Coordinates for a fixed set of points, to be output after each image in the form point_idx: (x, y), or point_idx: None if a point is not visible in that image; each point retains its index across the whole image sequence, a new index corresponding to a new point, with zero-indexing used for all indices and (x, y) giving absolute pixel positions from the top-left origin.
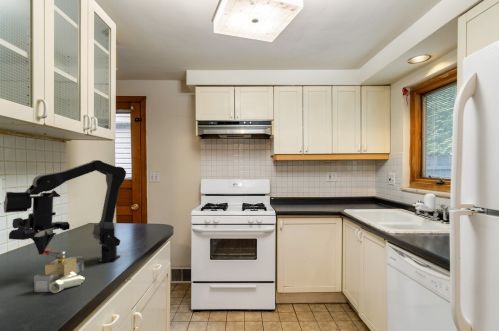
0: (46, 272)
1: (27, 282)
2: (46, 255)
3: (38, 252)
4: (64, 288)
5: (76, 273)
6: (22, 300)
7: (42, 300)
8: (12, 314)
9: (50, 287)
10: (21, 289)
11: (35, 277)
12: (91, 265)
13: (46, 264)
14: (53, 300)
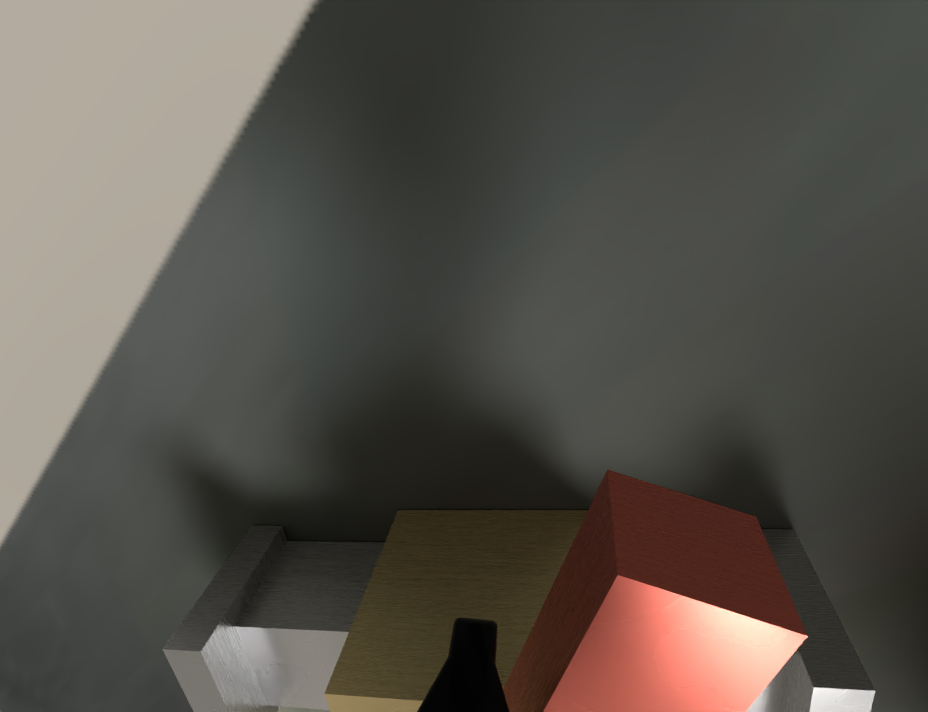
0: (364, 615)
1: (402, 297)
2: (506, 688)
3: (608, 511)
4: None
5: None
6: (133, 535)
7: None
8: (15, 597)
9: None
10: (256, 379)
11: (177, 647)
12: (915, 664)
13: (347, 697)
14: None
